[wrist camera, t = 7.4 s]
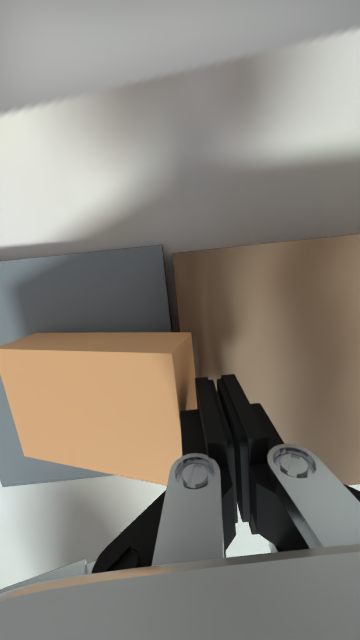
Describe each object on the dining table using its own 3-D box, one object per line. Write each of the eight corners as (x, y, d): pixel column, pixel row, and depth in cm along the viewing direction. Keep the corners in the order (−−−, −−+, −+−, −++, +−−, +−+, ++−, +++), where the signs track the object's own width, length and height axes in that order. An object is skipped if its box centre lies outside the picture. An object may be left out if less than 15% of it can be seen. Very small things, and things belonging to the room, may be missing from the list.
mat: (161, 245, 14) (161, 244, 14) (185, 460, 18) (186, 467, 17) (-59, 267, 14) (-69, 268, 14) (8, 479, 17) (2, 487, 17)
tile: (191, 332, 12) (171, 353, 9) (202, 447, 13) (187, 489, 11) (36, 332, 15) (-8, 348, 12) (59, 426, 16) (24, 456, 14)
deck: (406, 229, 14) (479, 221, 11) (385, 433, 17) (437, 475, 14) (172, 253, 14) (172, 253, 11) (192, 453, 17) (197, 501, 14)
